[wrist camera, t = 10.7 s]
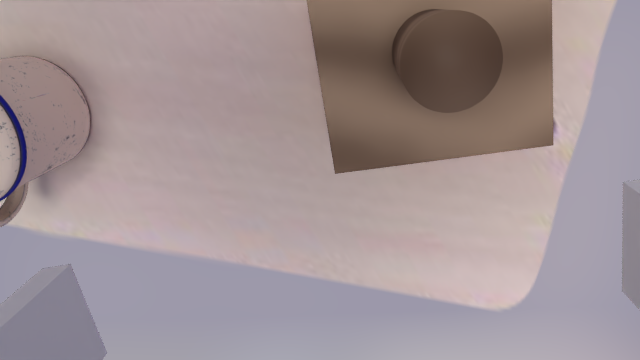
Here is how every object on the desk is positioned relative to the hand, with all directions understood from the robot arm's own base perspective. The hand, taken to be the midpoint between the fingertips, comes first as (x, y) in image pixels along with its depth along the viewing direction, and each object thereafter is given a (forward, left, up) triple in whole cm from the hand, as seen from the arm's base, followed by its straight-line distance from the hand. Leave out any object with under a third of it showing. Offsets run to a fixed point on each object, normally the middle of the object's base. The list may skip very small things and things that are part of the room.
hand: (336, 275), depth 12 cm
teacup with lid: (-1, -25, -26) cm, 36 cm away
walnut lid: (-3, +5, -20) cm, 21 cm away
